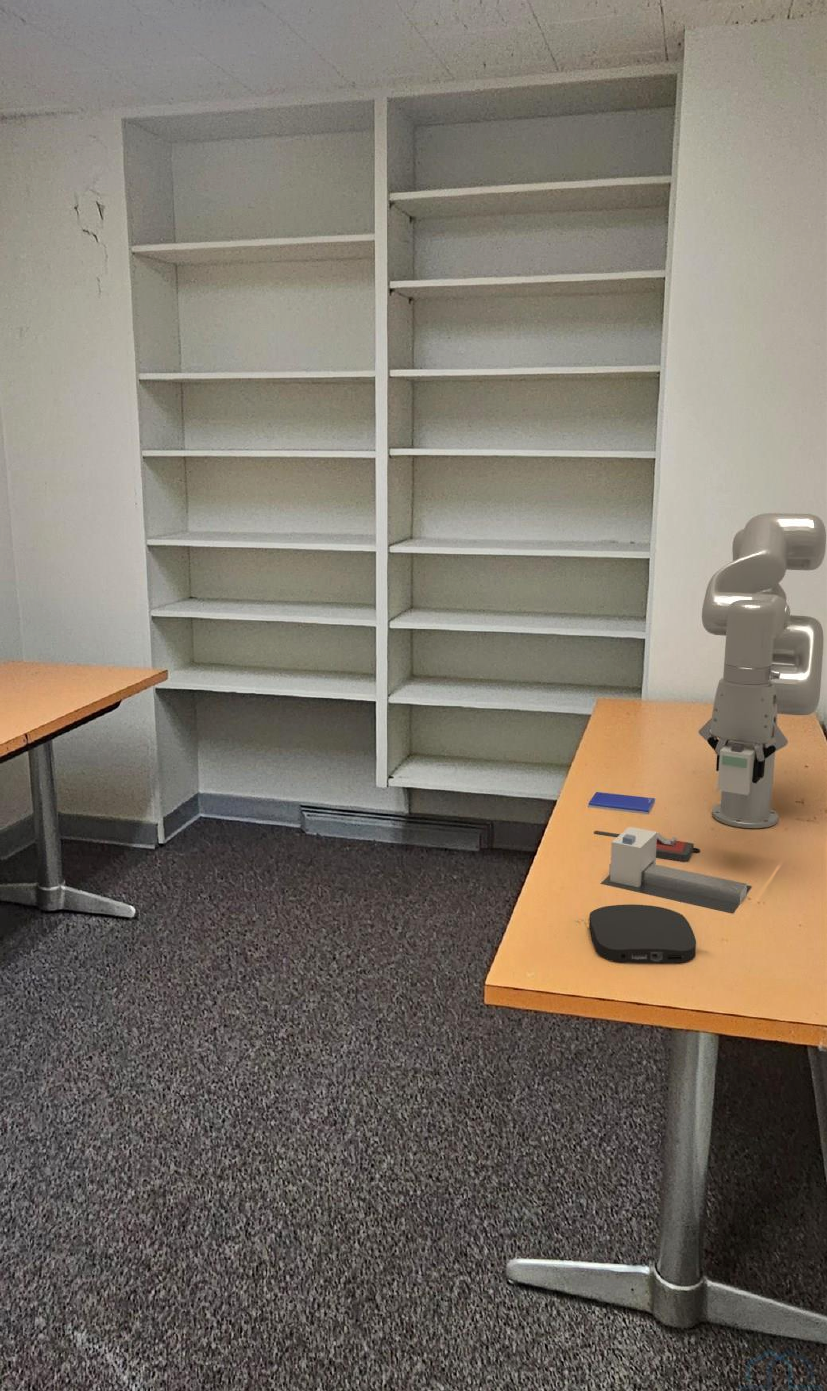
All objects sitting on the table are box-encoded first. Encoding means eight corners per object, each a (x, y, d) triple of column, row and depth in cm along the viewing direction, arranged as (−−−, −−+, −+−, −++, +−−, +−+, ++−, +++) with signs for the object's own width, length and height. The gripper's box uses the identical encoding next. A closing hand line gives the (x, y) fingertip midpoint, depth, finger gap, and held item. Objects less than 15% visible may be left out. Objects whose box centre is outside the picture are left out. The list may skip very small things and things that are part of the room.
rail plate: (625, 864, 179) (626, 849, 179) (751, 891, 168) (753, 875, 167) (600, 888, 169) (600, 872, 169) (732, 919, 158) (734, 901, 157)
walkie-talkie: (702, 853, 185) (595, 837, 193) (703, 831, 184) (595, 815, 192) (693, 871, 177) (582, 853, 185) (695, 847, 176) (583, 830, 184)
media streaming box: (679, 920, 159) (680, 903, 158) (701, 966, 144) (702, 947, 144) (585, 919, 159) (586, 902, 158) (598, 965, 145) (599, 946, 144)
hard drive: (655, 797, 211) (596, 790, 216) (649, 809, 204) (588, 802, 209) (655, 804, 212) (596, 797, 216) (648, 817, 204) (588, 809, 209)
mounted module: (627, 864, 177) (629, 821, 175) (655, 870, 174) (657, 826, 173) (609, 880, 170) (611, 836, 168) (638, 887, 168) (640, 842, 166)
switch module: (730, 776, 177) (733, 732, 176) (759, 781, 175) (763, 736, 173) (717, 790, 170) (720, 745, 168) (747, 795, 168) (750, 749, 166)
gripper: (805, 675, 167) (796, 780, 171) (702, 665, 176) (696, 765, 180) (795, 684, 161) (786, 793, 165) (689, 673, 169) (683, 776, 174)
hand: (739, 777), depth 172 cm, fingers closed on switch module, 5 cm apart
